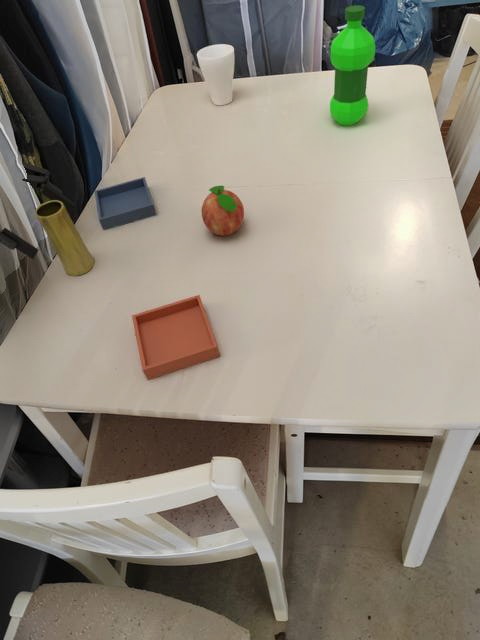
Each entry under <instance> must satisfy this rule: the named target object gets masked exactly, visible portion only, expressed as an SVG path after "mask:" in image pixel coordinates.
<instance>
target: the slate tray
mask: <svg viewBox="0 0 480 640" xmlns="http://www.w3.org/2000/svg"><path fill="white" fill-rule="evenodd" d="M94 198H95V204H96V212H97V217H98V221H99V224H100V226H101V228H102V230H103V231H106V230H109V229H112V228H115V227H120V226H122V225H126V224H129V223H134V222H137V221H140V220H144V219H147V218H150V217H151V218H152V217H154V216H157V211H156V208H155V205H154V201H153V199H152V196H151V192H150V189H149V186H148V183H147V180H146V177H145V176H143V177H140V178H135V179H132V180H128V181H124V182H121V183H118V184H114V185H110V186H107V187H103V188H100V189H96V190H94Z"/></svg>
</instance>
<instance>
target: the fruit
mask: <svg viewBox="0 0 480 640" xmlns="http://www.w3.org/2000/svg"><path fill="white" fill-rule="evenodd" d="M208 191H209V192H210V193H209V194H208V195H207V196H206V197H205V198H204V200H203V202H202V204H201V205H202V206H201V218H202V221H203V224H204V225H205V227H206V228H207V230H209V231H210V232H211V233H213V234H214V235H217V236H224V237H225V236H230V235H232V234H234V233H235V232H237V231H238V230H239V228H240V227H241V226H242V224H243V221H244V218H245V208H244V204H243V202H242V201H241V199H240V197H239V196H238V195H237V194H236V193H234V192H233V191H231V190H228V189H225V186H224V185H215V186H213V187H210V188H209V189H208Z"/></svg>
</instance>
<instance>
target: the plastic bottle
mask: <svg viewBox="0 0 480 640" xmlns="http://www.w3.org/2000/svg"><path fill="white" fill-rule="evenodd" d="M344 12H345V14H344V21H346V26H345V27H344V28H343V29H342V30H341V31H340V32H339V33H338V34H337V35H336V36H335V37H334V38H333V39H332V42H331V44H330V51H329V52H330V58H329V59H330V63H331V66H333V67H334V86H333V88H334V89H333V95H332V97H331V98H330V99H331V100H330V102H329V113H330V117H331V118H332V119H333V120H335V121H336V122H337V123H338V125H339V124H340V125H341V126H346V127H347V126H349V127H350V126H353V125H355V124H357V123H358V122H359V121H360V120H361V119H363V118H364V117H365V116H366V115H367V113H368V111H369V100H368V96H367V84H368V83H367V81H368V72H369V65H371V63H372V62H373V61H374V58H375V55H376V41H375V38H374V36H373V35H372V34H371V33H370V31H368V30H367V29H366V28H365V27H364V26H363V25H362V21H363V20H365V15H366V13H365V12H366V7H365V6H363V5H351V6H347V7H346V8H345V10H344Z"/></svg>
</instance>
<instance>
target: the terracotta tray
mask: <svg viewBox="0 0 480 640" xmlns="http://www.w3.org/2000/svg"><path fill="white" fill-rule="evenodd" d="M131 317H132V323H133V329H134V334H135V339H136V343H137V347H138V349H137V350H138V354H139V358H140V359H139V360H140V364H141V369H142V372H143V374H144V376H145V378H146V380H151V379H155V378H158V377H161V376H163V375H167V374H170V373H173V372H176V371H179V370H183V369H186V368H188V367H191V366H192V367H193V366H195V365H197V364H201V363H204V362H206V361H210V360H214V359H216V358H219V357H221V354H220V351H219V347H218V343H217V341H216V338H215V335H214V332H213V330H212V327H211V324H210V320H209V317H208V315H207V312H206V310H205V307H204V304H203V301H202V297H201V295H200V294H197V295H193V296H190V297H187V298H184V299H180V300H178V301H174V302H171V303H168V304H164V305H161V306H158V307H155V308H151V309H148V310H145V311H142V312H138V313H136V314H132V315H131Z"/></svg>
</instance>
